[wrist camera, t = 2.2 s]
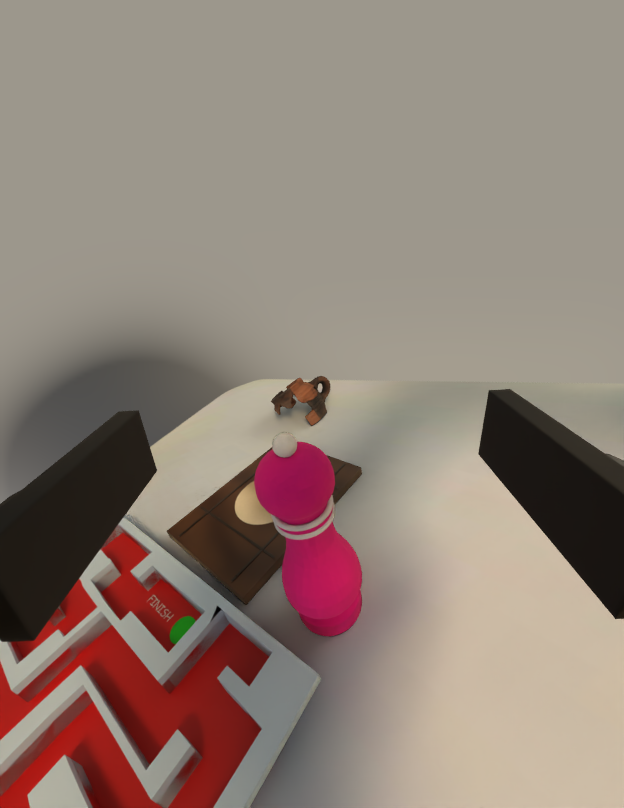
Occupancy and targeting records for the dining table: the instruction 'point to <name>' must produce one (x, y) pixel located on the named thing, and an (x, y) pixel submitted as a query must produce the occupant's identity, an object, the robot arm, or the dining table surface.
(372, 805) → the dining table surface
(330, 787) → the dining table surface
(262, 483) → the pepper mill
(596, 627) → the dining table surface
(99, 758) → the maze game
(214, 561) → the board
